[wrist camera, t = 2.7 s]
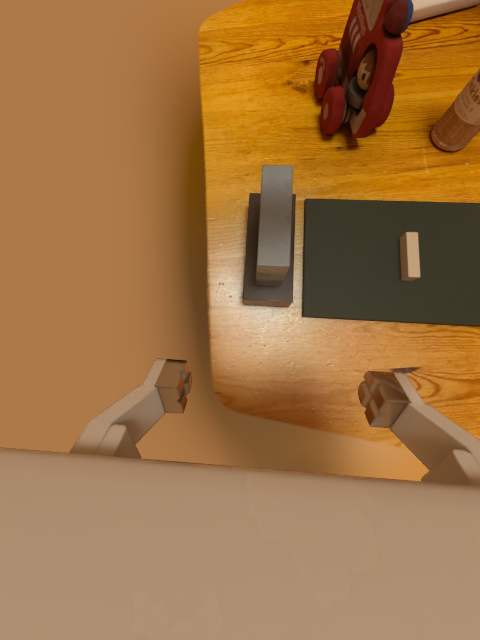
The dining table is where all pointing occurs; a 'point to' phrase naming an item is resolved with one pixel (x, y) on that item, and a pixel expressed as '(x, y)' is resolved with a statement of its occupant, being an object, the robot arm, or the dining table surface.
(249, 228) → the eraser
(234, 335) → the dining table surface
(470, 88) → the sprinkles bottle
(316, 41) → the dining table surface
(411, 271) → the chalk stick
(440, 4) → the hard drive
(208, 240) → the dining table surface
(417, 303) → the chalkboard
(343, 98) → the toy fire truck
